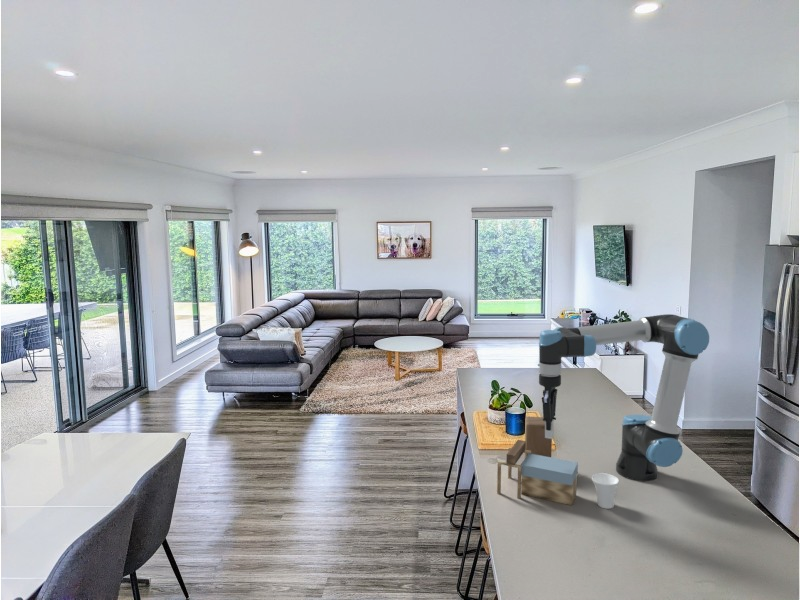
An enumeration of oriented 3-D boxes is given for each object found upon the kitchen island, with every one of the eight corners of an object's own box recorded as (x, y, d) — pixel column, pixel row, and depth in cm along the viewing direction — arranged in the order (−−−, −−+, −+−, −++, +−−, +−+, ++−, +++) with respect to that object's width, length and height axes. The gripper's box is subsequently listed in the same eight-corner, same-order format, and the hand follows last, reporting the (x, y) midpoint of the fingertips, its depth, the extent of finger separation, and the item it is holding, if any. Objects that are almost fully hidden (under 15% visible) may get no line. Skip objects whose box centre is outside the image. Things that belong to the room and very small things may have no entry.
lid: (577, 472, 197) (577, 462, 196) (571, 485, 187) (572, 474, 187) (528, 463, 205) (528, 453, 205) (520, 475, 195) (520, 464, 195)
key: (525, 449, 207) (525, 441, 207) (514, 465, 194) (514, 455, 193) (517, 448, 208) (517, 439, 208) (506, 463, 195) (506, 454, 195)
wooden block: (551, 474, 213) (552, 425, 211) (525, 472, 215) (526, 424, 213) (549, 463, 223) (550, 416, 220) (524, 461, 225) (525, 415, 222)
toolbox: (577, 491, 200) (578, 459, 198) (570, 509, 186) (571, 476, 185) (508, 476, 212) (509, 447, 210) (497, 493, 198) (497, 461, 197)
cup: (617, 500, 193) (618, 473, 191) (618, 513, 184) (619, 485, 183) (590, 496, 195) (591, 470, 194) (590, 509, 187) (592, 481, 185)
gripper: (544, 368, 199) (543, 429, 202) (534, 377, 188) (533, 442, 191) (564, 370, 195) (563, 433, 198) (556, 379, 184) (555, 446, 187)
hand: (549, 437), depth 195 cm, fingers closed
